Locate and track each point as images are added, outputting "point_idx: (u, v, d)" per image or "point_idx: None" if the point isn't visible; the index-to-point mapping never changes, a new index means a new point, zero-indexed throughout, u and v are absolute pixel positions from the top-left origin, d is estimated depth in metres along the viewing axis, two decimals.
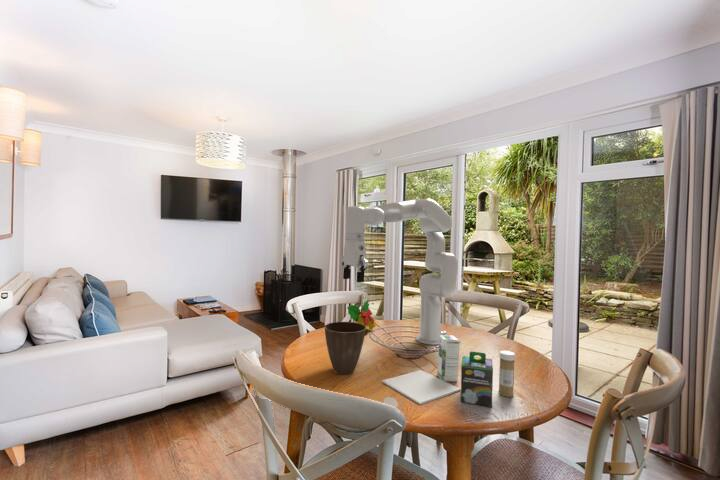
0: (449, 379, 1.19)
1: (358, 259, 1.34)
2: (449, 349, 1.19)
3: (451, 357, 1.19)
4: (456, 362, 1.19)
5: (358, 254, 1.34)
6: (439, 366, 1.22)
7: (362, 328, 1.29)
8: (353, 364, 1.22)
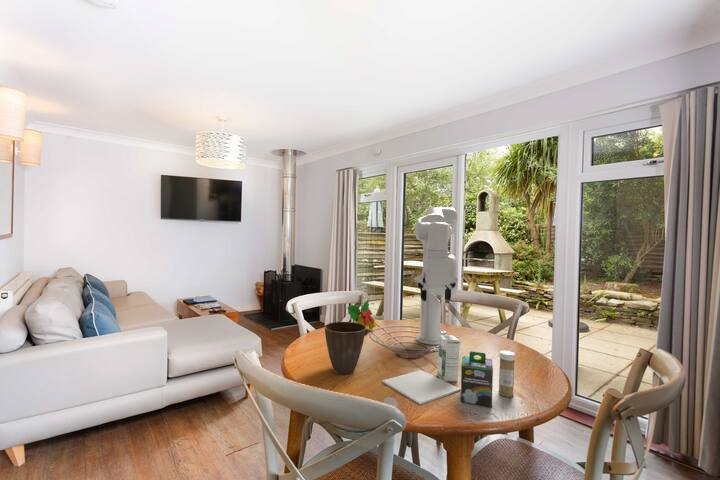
0: (449, 379, 1.19)
1: None
2: (449, 349, 1.19)
3: (451, 357, 1.19)
4: (456, 362, 1.19)
5: None
6: (439, 366, 1.22)
7: (362, 328, 1.29)
8: (353, 364, 1.22)
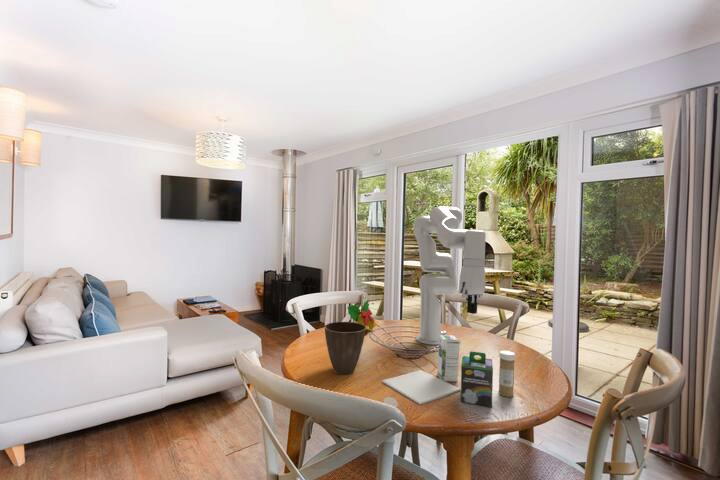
0: (449, 379, 1.19)
1: None
2: (449, 349, 1.19)
3: (451, 357, 1.19)
4: (456, 362, 1.19)
5: None
6: (439, 366, 1.22)
7: (362, 328, 1.29)
8: (353, 364, 1.22)
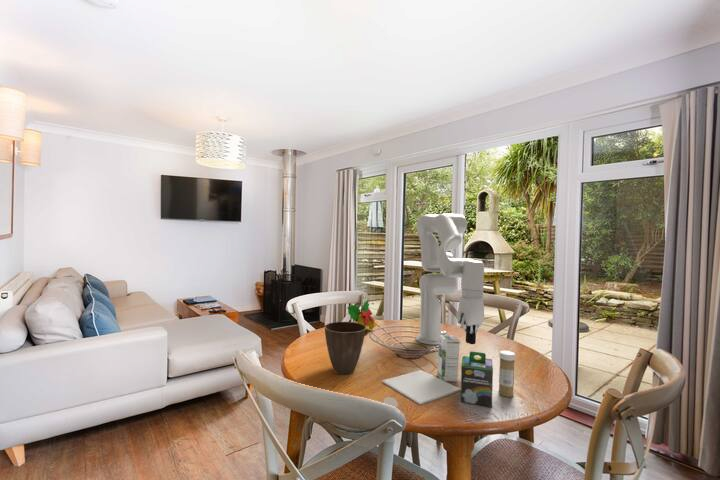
0: (449, 379, 1.19)
1: None
2: (449, 349, 1.19)
3: (451, 357, 1.19)
4: (456, 362, 1.19)
5: None
6: (439, 366, 1.22)
7: (362, 328, 1.29)
8: (353, 364, 1.22)
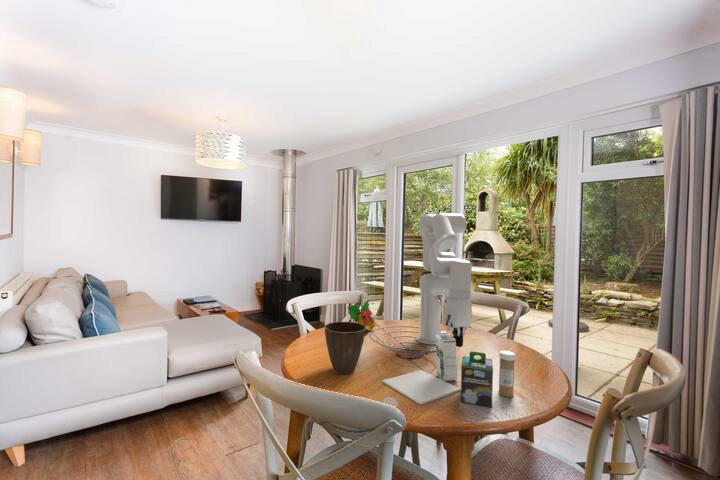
0: (449, 378, 1.19)
1: None
2: (446, 348, 1.19)
3: (449, 356, 1.19)
4: (454, 361, 1.19)
5: None
6: (438, 366, 1.22)
7: (362, 328, 1.29)
8: (353, 364, 1.22)
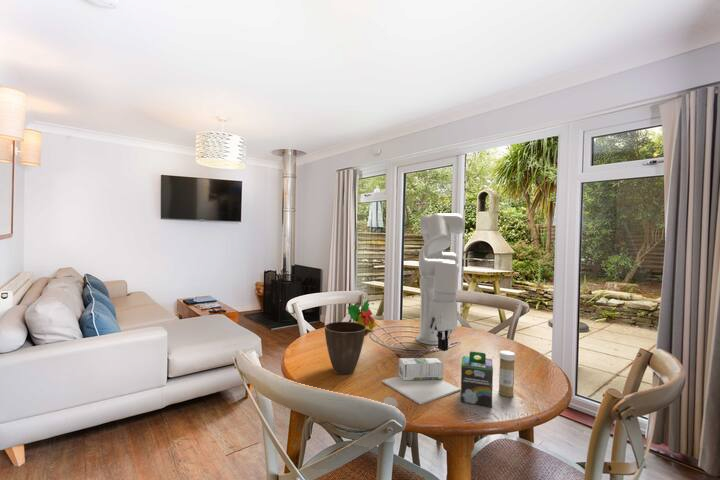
0: (441, 371, 1.19)
1: None
2: (412, 374, 1.17)
3: (419, 371, 1.18)
4: (425, 365, 1.18)
5: None
6: None
7: (362, 328, 1.29)
8: (353, 364, 1.22)
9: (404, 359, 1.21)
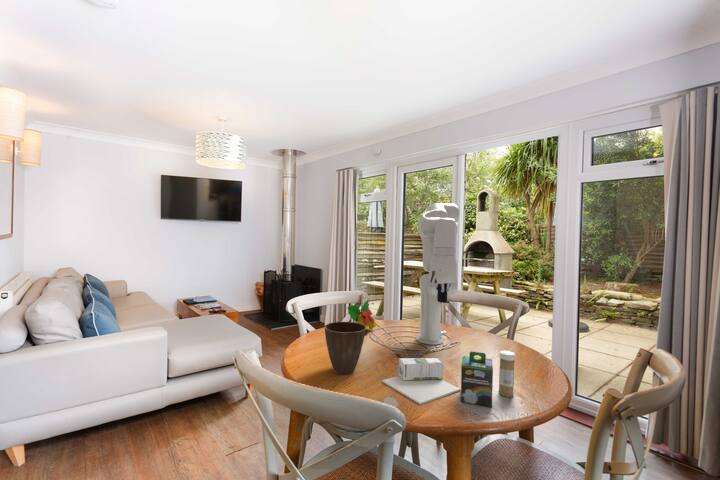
0: (441, 371, 1.19)
1: None
2: (412, 374, 1.17)
3: (419, 371, 1.18)
4: (425, 365, 1.18)
5: None
6: None
7: (362, 328, 1.29)
8: (353, 364, 1.22)
9: (404, 359, 1.21)
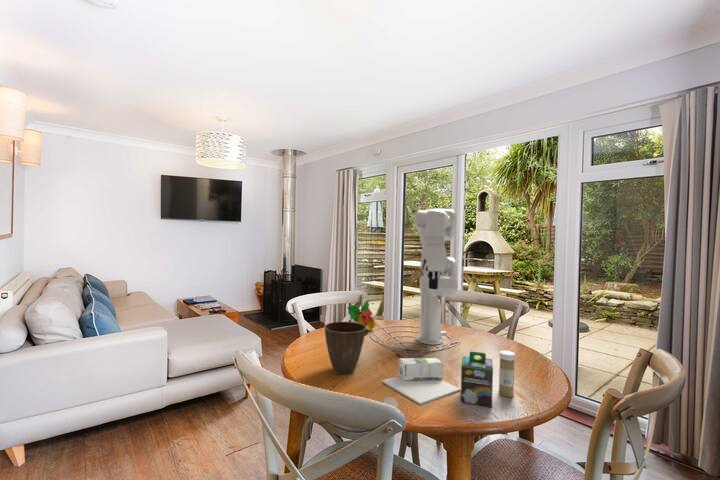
0: (441, 371, 1.19)
1: None
2: (412, 374, 1.17)
3: (419, 371, 1.18)
4: (425, 365, 1.18)
5: None
6: None
7: (362, 328, 1.29)
8: (353, 364, 1.22)
9: (404, 359, 1.21)
